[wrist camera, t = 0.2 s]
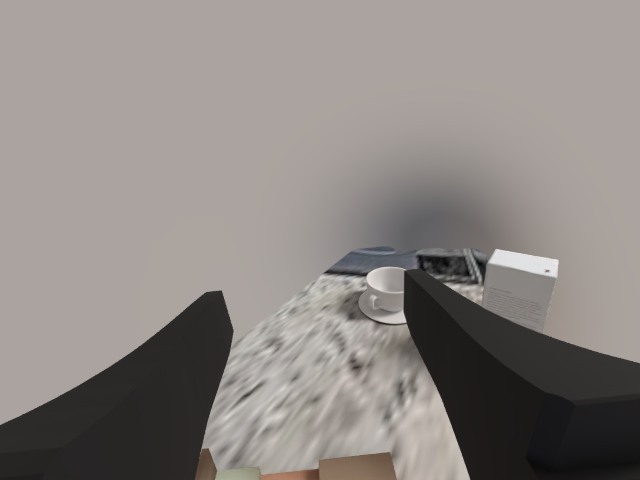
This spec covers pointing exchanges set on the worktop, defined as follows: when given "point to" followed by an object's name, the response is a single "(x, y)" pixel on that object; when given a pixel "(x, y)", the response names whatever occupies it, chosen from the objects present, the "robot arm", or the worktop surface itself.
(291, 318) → the worktop surface
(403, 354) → the worktop surface
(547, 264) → the skincare box
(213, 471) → the box
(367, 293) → the teacup
